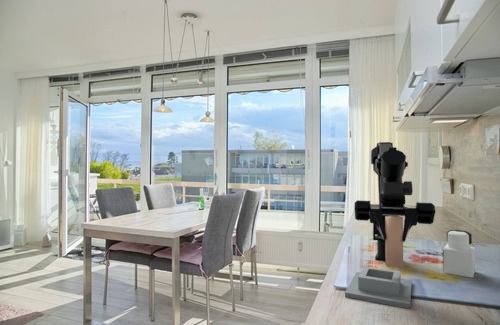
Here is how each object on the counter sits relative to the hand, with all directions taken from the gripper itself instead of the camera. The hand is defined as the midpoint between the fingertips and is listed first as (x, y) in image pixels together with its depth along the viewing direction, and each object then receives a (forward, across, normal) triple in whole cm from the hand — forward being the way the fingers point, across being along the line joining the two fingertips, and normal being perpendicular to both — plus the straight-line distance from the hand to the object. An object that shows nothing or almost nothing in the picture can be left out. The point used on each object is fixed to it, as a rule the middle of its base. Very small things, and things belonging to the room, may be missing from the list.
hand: (394, 240), depth 78 cm
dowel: (+4, 0, +6) cm, 7 cm away
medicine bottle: (-7, +18, +26) cm, 33 cm away
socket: (+8, -3, +11) cm, 14 cm away
